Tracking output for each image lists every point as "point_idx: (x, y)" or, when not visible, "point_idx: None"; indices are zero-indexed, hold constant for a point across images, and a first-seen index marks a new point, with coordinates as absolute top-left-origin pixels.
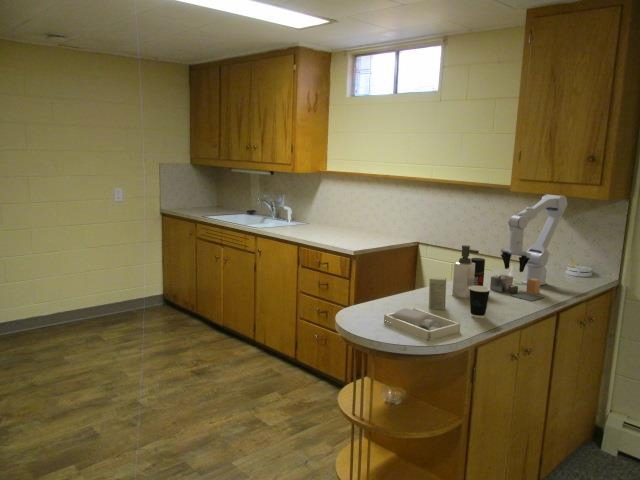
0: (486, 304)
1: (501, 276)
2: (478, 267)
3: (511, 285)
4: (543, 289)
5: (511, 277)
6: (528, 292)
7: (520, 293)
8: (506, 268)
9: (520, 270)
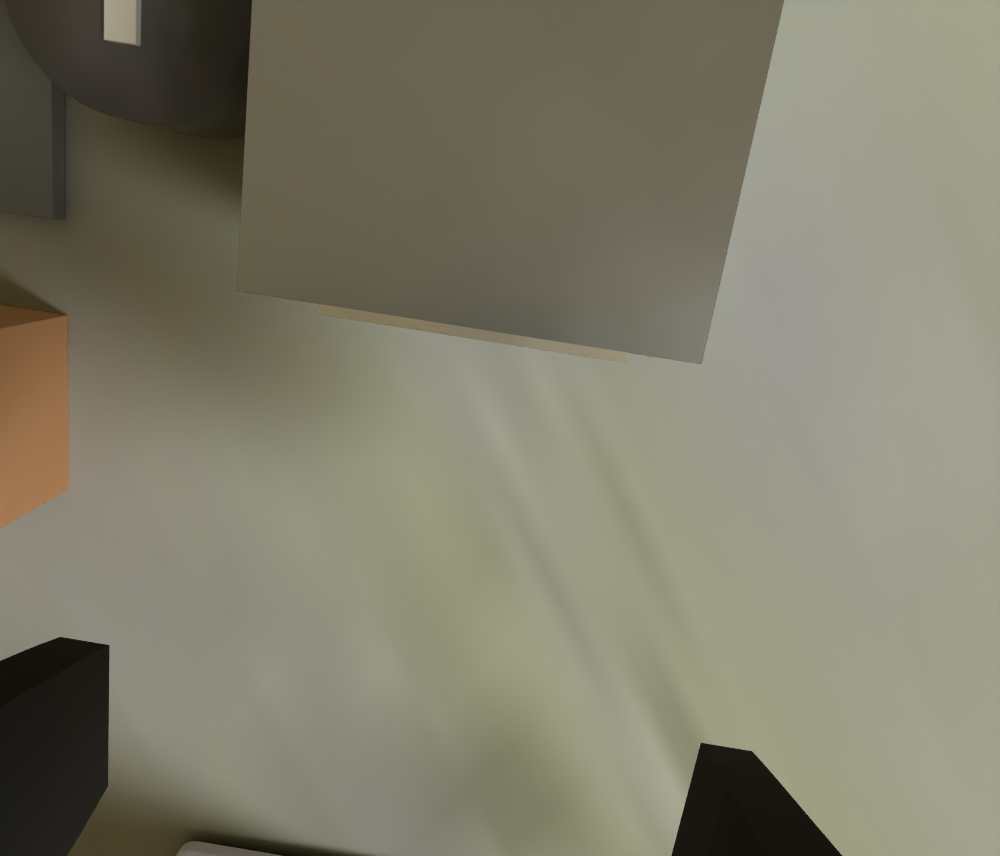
0: None
1: (559, 25)
2: None
3: (218, 44)
4: None
5: (242, 197)
6: (12, 307)
7: None
8: (701, 770)
9: (14, 662)
